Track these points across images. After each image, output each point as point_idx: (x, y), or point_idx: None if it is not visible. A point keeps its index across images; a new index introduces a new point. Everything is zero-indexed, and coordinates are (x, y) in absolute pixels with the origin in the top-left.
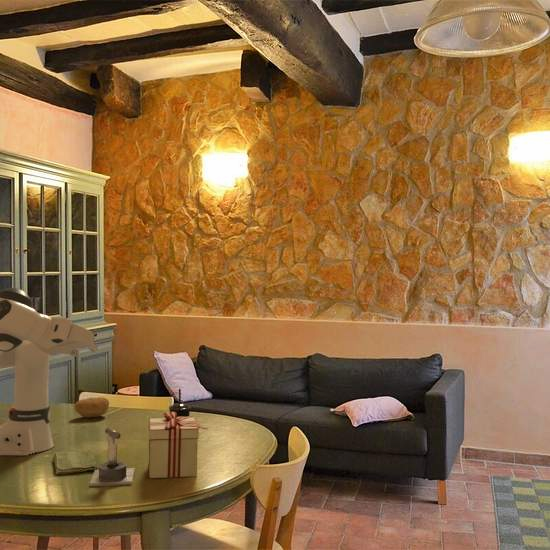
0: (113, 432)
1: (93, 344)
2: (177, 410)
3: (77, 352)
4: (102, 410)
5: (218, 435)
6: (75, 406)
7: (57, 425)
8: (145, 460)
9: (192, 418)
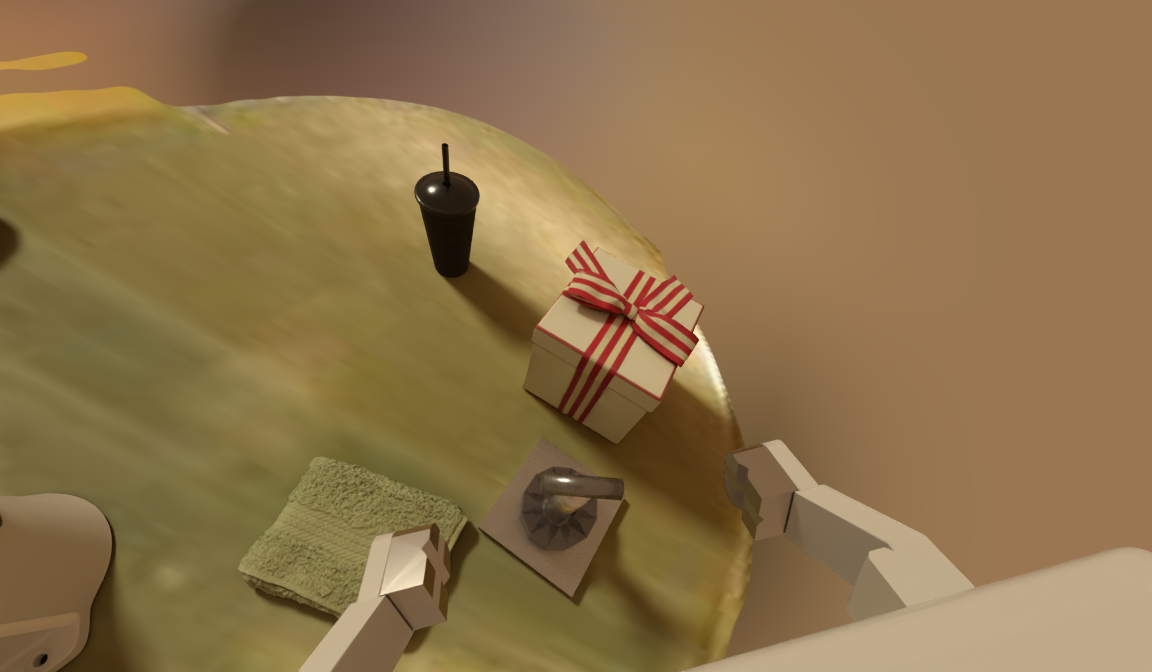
0: (604, 493)
1: (815, 490)
2: (467, 212)
3: (439, 543)
4: None
5: None
6: None
7: None
8: (488, 376)
9: (607, 256)
